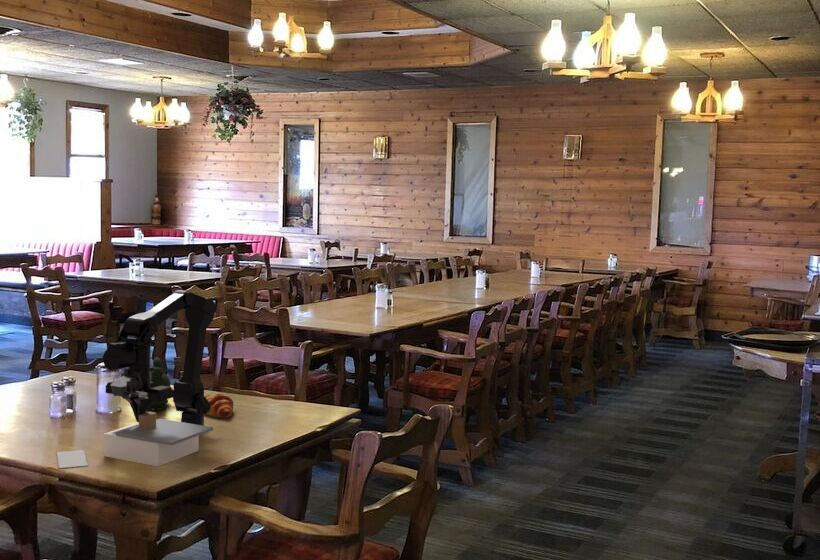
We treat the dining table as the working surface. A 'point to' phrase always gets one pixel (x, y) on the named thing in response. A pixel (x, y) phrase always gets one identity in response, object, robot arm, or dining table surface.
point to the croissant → (220, 405)
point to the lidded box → (146, 449)
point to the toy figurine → (158, 384)
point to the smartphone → (71, 459)
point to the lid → (163, 430)
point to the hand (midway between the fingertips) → (139, 421)
